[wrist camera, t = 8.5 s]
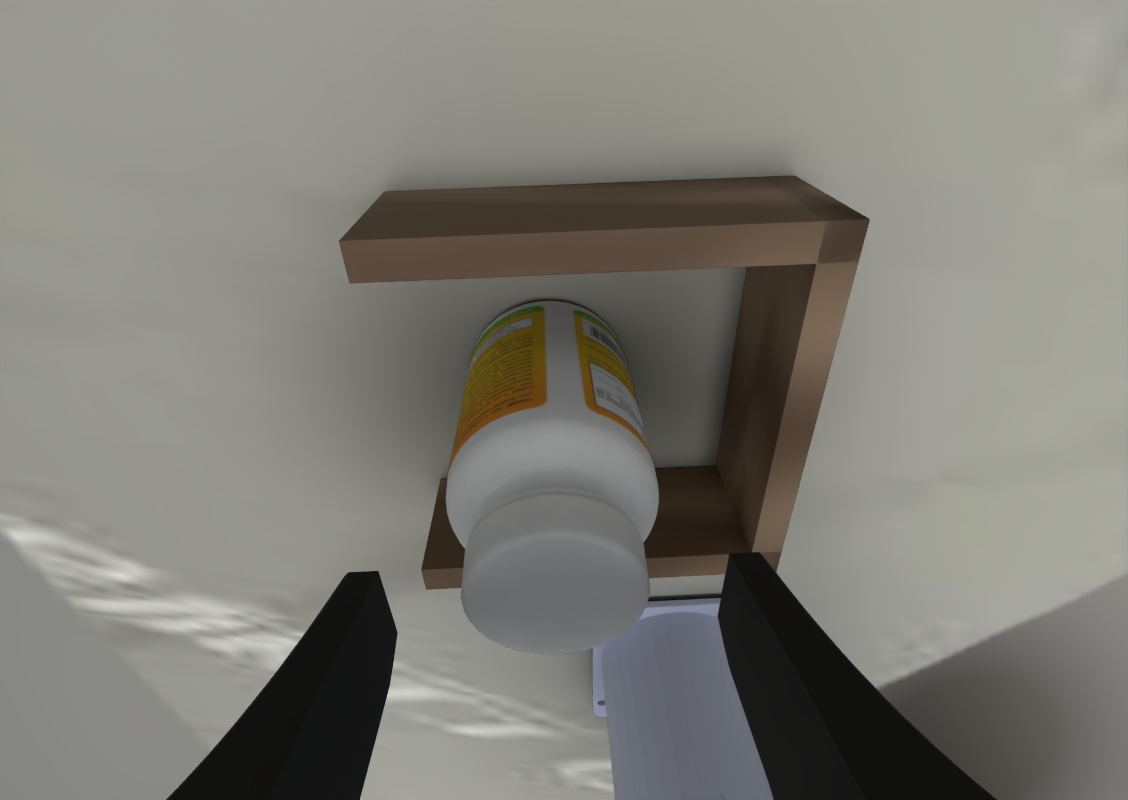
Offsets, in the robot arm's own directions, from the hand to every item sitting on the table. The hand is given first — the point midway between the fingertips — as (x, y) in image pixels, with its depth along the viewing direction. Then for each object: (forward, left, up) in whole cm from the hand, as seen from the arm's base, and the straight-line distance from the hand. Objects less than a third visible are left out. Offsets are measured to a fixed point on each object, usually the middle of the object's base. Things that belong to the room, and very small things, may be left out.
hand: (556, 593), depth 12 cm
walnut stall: (0, -2, -10) cm, 10 cm away
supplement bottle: (0, 0, -10) cm, 10 cm away
